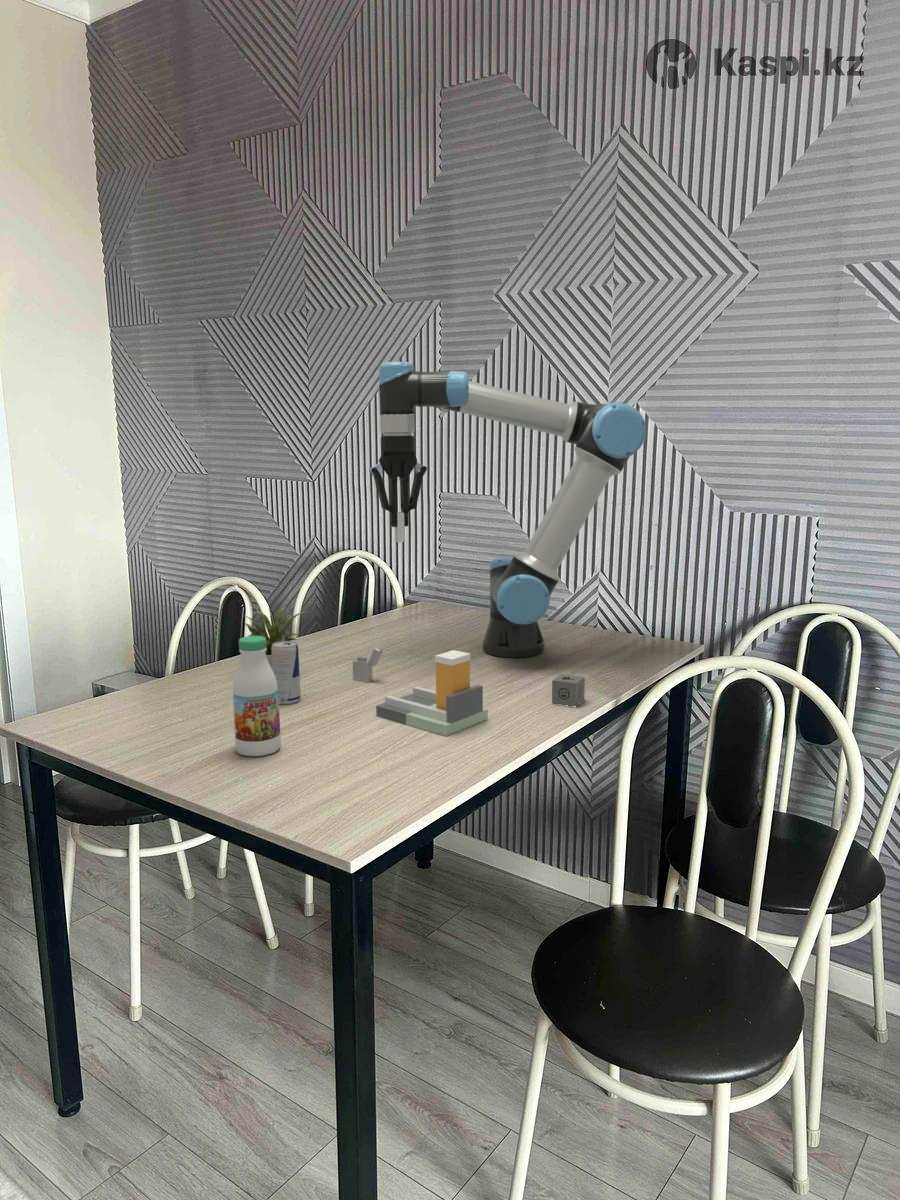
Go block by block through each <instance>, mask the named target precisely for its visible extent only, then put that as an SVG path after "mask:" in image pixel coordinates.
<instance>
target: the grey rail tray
mask: <svg viewBox="0 0 900 1200" xmlns="http://www.w3.org/2000/svg"><path fill="white" fill-rule="evenodd" d="M483 693H484V686H483V685H481V684H476V685H472V686H470V688H467V689H464V690H461V691H459V692H456V693H453V694H450V695H447V696H446V711H445V710H441V709H437V708H436V690H433V689H428V688H424V687H422V686H421V687H420V686H414V687H412V693H410V694H407V695H403V696H400V697H396V696H393V695H388V696H385V697H384V700H385V701H384V702H383V703H380V704H377V705H375V710H376V711H375V715H376V716H377V717H378V718H379V717H380V718H383V719H387V720H389V721H394V722H396V721H397V722H396V723H401V724H403V725H407V726H411V727H414V728H417V729H420V730H424V731H428V732H429V733H434V734H438V735H441V736H444V737H448V736H451V735H452V733H453V734H455V733H458V732H459V731H463V730H465V729H467V727H468V728H471V727H473V726H475V725H478V724H480V723H482V722H485V721H488V718H489V717H488V716H489V714H488V713H489V712H488V709H487V708H484V706H483V705H484V701H483V700H484V699H483V698H484V696H483ZM484 720H485V721H484ZM479 722H480V723H479ZM477 723H478V724H477ZM472 725H473V726H472ZM462 729H463V730H462ZM450 734H451V735H450Z"/></svg>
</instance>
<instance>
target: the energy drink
mask: <svg viewBox="0 0 900 1200" xmlns="http://www.w3.org/2000/svg"><path fill="white" fill-rule="evenodd" d="M271 650H272V669H273V673H274V675H275V677H276V681H277V687H278V700H279V705H292V704H296V703H299V702H300V701H301V680H300V679H301V676H300V675H301V674H300V659H299V658H300V657H299V655H300V654H299V646H298V643H297V642H296V641H295V640H291V641H282V640H281V641H280V642H275V643H273V644H272V648H271Z"/></svg>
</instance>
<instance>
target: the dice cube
mask: <svg viewBox="0 0 900 1200" xmlns="http://www.w3.org/2000/svg"><path fill="white" fill-rule="evenodd" d="M585 681H586V678H585V676H577V675H570V674H565V673H561V674H560V675H558V676H557V677H555V678H554V679H552V680H551V704H552V703H553V704H552V705H554V704H561V705H568V706H577V705H578V704H579V703H581V702H582V701H583V702H584V701H585V691H586V690H585V688H586V687H585V686H586V685H585V684H586V683H585ZM583 702H582V703H583ZM582 703H581V704H582ZM561 705H560V706H561ZM578 706H579V705H578ZM578 706H577V707H578Z"/></svg>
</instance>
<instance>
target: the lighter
mask: <svg viewBox="0 0 900 1200" xmlns="http://www.w3.org/2000/svg"><path fill="white" fill-rule="evenodd" d="M383 651H384V649H383V648H382V647H380V646H379V645H378V646H375V647H374V648H373V651H372V653H371V655H370V657H369V659H368V657H367V656H362V655H359V656H357V657H356V659H353V660H352V680H353V681H357V680H358V682H364V681H366V682H365V683H370V682H373V667H376V666H377V665H378V664H379V661H380V658H381V656H382V654H383Z"/></svg>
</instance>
